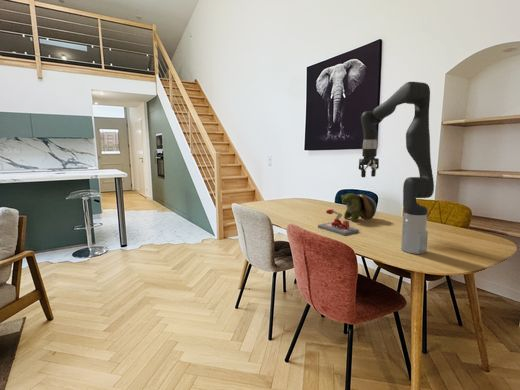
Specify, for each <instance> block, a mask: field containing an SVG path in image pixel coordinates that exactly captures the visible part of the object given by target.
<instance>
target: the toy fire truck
mask: <svg viewBox="0 0 520 390" xmlns="http://www.w3.org/2000/svg"><path fill="white" fill-rule="evenodd" d="M326 214H328V215H333V214H335V215H336V217H335V218H334V219H333V220H334V221H333V222H332V226H334V227H337V228H338V227H339V228H343V229H349V227H350V222H349V220H346V219H345V220H343V221H341V220H340V219H341V217H343V214H342V213H341V212H338V211H336V210H335V209H332V208H331V209H326Z"/></svg>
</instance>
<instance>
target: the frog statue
mask: <svg viewBox="0 0 520 390" xmlns="http://www.w3.org/2000/svg"><path fill="white" fill-rule="evenodd" d="M340 198H341V202H342V203H341V204H342V205H345V206H346V210H345V212H344V215H343V218H344V220H346V219H349V218H350V221H351V222H352V223H353V222H356V221H357V220H358V219H359V218H363V219H365V220H371V219H372V218H374V216H375V215H376V212H377V203H376V202H375V200H374V199H373V198H371V197H369V196H367V195H366V194H363V193H359V194H355V193H353V192H352V193H351V192H349V193H345V194H341V195H340Z"/></svg>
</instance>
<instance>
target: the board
mask: <svg viewBox="0 0 520 390" xmlns="http://www.w3.org/2000/svg"><path fill="white" fill-rule="evenodd" d="M317 228H319V229H322V230H325V231H328V232H331V233H335V234H337V235H340V236H347V235H353V234H356V233H359V232H360V229H359V228H355V227H351V226H349V229H343V228H339V227H338V228H337V227H334V226H332V222H331V221H330V222H327V223H322V224H318V225H317Z"/></svg>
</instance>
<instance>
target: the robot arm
mask: <svg viewBox="0 0 520 390" xmlns="http://www.w3.org/2000/svg"><path fill="white" fill-rule="evenodd" d="M430 102H431V88H430V85H429V84H428V83H426V82H419V81H408V82H405V83H404V84H403V85H402V86H400V87H399V89H397V90H396V91H395V92H394V93H392V95H391V96H390V97H389V98H387V100H385V101H384V102H382V103H380V104H379V105H378V106H376V107H375V108H374V109H373V110H372V111H370V110H369V111H368V110H367V111H364V112H362V114H361V116H360V121H361V126H362V132H363V141H362V153H361V154H362V155H361V156H362V157H363V158H359V161H358V170H360V171H361V174H360V176H361V178H366V175H367V174H366V173H367V169H368V168H369V167H370V169H371V171H370V173H371V174H370V175H371V177H376V171H377V170H378V169H379V168H380V167H379V166H380V165H379V160H380V159H379V158H378V157H377V155H378V153H377V152H378V130H377V129H376V128H373V127H372V126H371V125H373V126H374V125H378V124H381V123H382V121H383V120H384V119H385V118H387V117H389V116H391V115H392V114H393V113H394V112H395V111H396V109H397V106H400V105H404V104H409V105H414V117H413V119H412V121H411V123H410V124H409V126H408V128H407V130H406V133H405V148H406V151H407V154H409V156H410V157H411V158H412V160H413V161H414V163H415V165H416V166H417V168H418V172H419V176H410V177H406V179H405V180H404V181H403V186H402V187H403V189H402V198H403V200H402V207H403V214H402V217H403V218H402V230H401V246H400V247H401V248H400V249H401V250H402V251H403V252H404V253H405V252H406V253H410V254H415V255H421V254H425V253H427V247H428V236H429V230H427V220H428V208H427V207H426V206H424V205H421V204H419V203H418V202H417V199H427V198H428V199H429V198H431V197H432V196H433V194H434V192H435V191H434V188H435V184H434V183H435V182H434V175H433V168H432V162H431V161H432V160H431V136H430Z"/></svg>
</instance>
